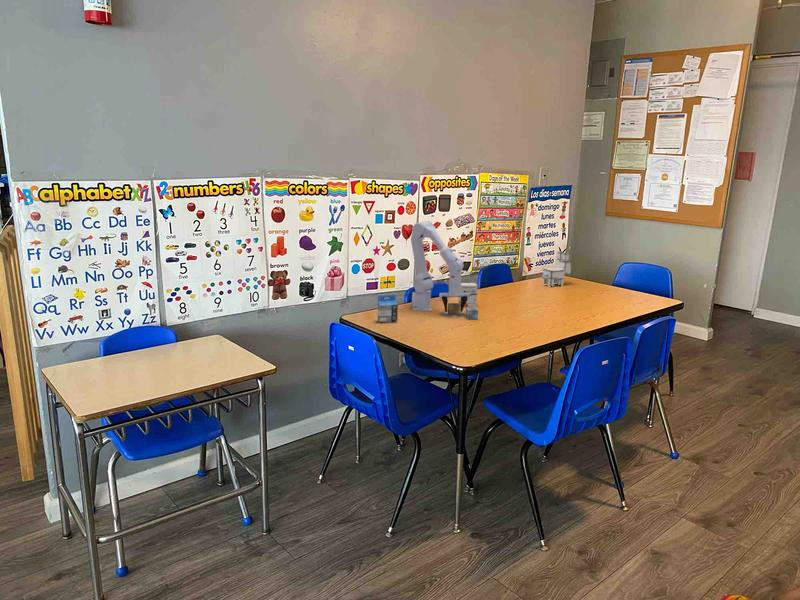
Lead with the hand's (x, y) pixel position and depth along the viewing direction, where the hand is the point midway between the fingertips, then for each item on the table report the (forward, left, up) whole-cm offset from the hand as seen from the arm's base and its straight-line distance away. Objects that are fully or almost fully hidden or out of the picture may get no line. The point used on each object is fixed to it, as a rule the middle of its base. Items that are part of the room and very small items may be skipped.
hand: (453, 311), depth 292 cm
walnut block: (0, 0, -1) cm, 1 cm away
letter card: (0, 0, -2) cm, 2 cm away
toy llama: (+75, +65, -2) cm, 99 cm away
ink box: (+10, +17, -2) cm, 20 cm away
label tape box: (-34, -11, -2) cm, 35 cm away
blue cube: (+7, -7, -2) cm, 10 cm away
